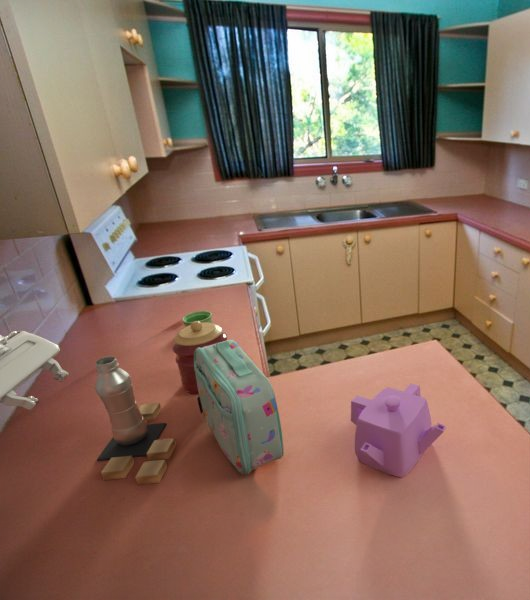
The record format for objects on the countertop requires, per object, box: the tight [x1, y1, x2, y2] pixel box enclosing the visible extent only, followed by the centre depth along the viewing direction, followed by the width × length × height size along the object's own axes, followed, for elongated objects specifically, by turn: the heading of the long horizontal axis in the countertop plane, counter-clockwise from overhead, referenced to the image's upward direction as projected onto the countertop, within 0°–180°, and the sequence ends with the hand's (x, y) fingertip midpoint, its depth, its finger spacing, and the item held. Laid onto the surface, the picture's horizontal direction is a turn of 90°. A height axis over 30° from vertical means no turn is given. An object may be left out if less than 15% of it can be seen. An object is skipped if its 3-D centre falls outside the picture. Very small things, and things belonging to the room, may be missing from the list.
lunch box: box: [194, 339, 284, 475], centre depth 88 cm, size 27×10×21 cm, turn 40°
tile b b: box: [146, 437, 177, 461], centre depth 89 cm, size 4×4×2 cm
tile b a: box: [100, 456, 135, 481], centre depth 85 cm, size 4×4×2 cm
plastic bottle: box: [94, 355, 148, 446], centre depth 89 cm, size 6×7×20 cm
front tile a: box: [134, 459, 168, 486], centre depth 83 cm, size 4×4×2 cm
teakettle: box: [350, 383, 447, 478], centre depth 86 cm, size 17×17×12 cm
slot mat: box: [96, 422, 167, 462], centre depth 93 cm, size 10×10×1 cm
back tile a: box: [138, 402, 162, 422], centre depth 100 cm, size 4×4×2 cm
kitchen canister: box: [171, 321, 228, 395], centre depth 110 cm, size 13×13×18 cm
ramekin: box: [181, 310, 213, 328], centre depth 142 cm, size 9×9×4 cm
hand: (51, 391), depth 85 cm, fingers open, 8 cm apart
